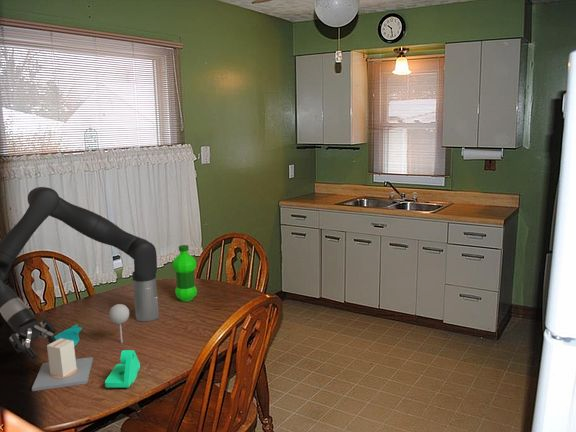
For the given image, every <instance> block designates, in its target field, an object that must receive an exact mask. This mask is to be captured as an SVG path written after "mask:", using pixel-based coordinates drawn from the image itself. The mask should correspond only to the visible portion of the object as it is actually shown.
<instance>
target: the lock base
mask: <svg viewBox="0 0 576 432" xmlns="http://www.w3.org/2000/svg"><path fill="white" fill-rule="evenodd" d="M93 358H94V357H91V356H90V357H83V358H75V359H76V368H77V369H76V370H74V371H72V372H71V373H69V374H67V375H66V376H64V377H61V376H57V375H53V374H50V366H49V362H44V363H43V362H42V365H41V366H40V368H39V371H38V373H37V374H36V375H37V376H36V378H35V379H34V382H33V384H32V387H31V391H32V392H36V391H43V390H50V389H57V388H59V389H60V388H66V387H73V386H81V385H86V384H88V383H89V382H88V381H89V377H90V373H91V369H92V365H93V361H94V359H93Z"/></svg>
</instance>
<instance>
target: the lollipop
mask: <svg viewBox="0 0 576 432" xmlns="http://www.w3.org/2000/svg"><path fill="white" fill-rule="evenodd" d="M108 317H109V319H110V321H111V322H113V324H117V325H119V336H120V344H123V342H124V341H123V333H122V332H123V331H122V329H123V328H122V324H124V323H125V322H126V321H127V320H128V319H129V317H130V309H129V308H128V307H127V306H126V304H122V303H117V304H113V306H112V307H111V308H110V310H109V312H108Z"/></svg>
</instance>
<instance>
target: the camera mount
mask: <svg viewBox="0 0 576 432" xmlns="http://www.w3.org/2000/svg"><path fill="white" fill-rule="evenodd" d="M140 368H141V362H140V360H139V358H138V356H137V354H136V351H135V350H134V349H125V350H124V349H123V350H122V351H121V353H120V363H116V365H115V366H114V367H113V369H112V370H111V372H110V374H108V376H107V378H106V379H105V381H104V386H105V388H130V385H133V384H134V382H135V381H136V379H137V377H138V372H139V370H140Z"/></svg>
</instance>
